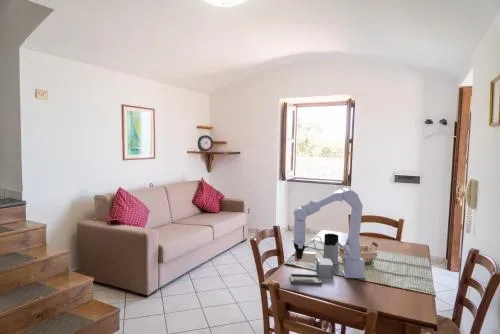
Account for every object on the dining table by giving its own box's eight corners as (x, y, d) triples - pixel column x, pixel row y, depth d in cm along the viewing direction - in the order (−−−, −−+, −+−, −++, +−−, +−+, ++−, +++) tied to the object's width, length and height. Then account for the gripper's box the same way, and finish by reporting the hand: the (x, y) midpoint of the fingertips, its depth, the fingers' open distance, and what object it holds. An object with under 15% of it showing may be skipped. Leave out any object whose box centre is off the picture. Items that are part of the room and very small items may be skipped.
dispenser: (329, 270, 167) (330, 257, 166) (333, 277, 158) (333, 264, 157) (316, 270, 167) (316, 256, 166) (318, 277, 158) (319, 263, 157)
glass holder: (338, 265, 174) (339, 238, 172) (311, 262, 178) (312, 235, 177) (339, 259, 182) (340, 234, 181) (313, 256, 186) (314, 231, 185)
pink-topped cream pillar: (314, 260, 162) (315, 252, 162) (315, 262, 160) (315, 254, 159) (294, 259, 163) (295, 250, 163) (294, 261, 160) (295, 252, 160)
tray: (318, 277, 158) (319, 274, 158) (321, 285, 149) (321, 282, 149) (290, 276, 159) (290, 273, 159) (291, 284, 150) (291, 281, 150)
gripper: (290, 227, 168) (290, 252, 169) (292, 235, 153) (291, 262, 155) (304, 227, 167) (303, 252, 168) (307, 235, 153) (306, 263, 154)
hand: (299, 257), depth 161 cm, fingers closed on pink-topped cream pillar, 2 cm apart
